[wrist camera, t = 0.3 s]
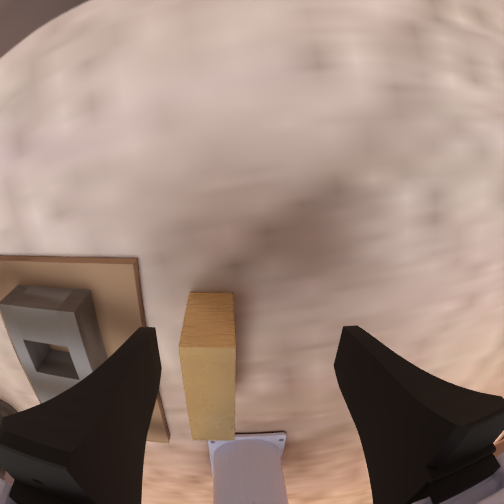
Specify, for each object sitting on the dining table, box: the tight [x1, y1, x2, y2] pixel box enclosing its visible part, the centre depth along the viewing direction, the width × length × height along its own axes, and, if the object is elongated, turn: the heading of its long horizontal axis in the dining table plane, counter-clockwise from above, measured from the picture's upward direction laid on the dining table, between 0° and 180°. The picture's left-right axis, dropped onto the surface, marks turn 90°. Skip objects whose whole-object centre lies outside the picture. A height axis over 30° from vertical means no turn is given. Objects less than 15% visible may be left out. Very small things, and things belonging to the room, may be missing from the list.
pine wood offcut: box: [179, 292, 236, 441], centre depth 20 cm, size 9×3×6 cm, turn 178°
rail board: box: [0, 256, 170, 443], centre depth 21 cm, size 20×14×4 cm
